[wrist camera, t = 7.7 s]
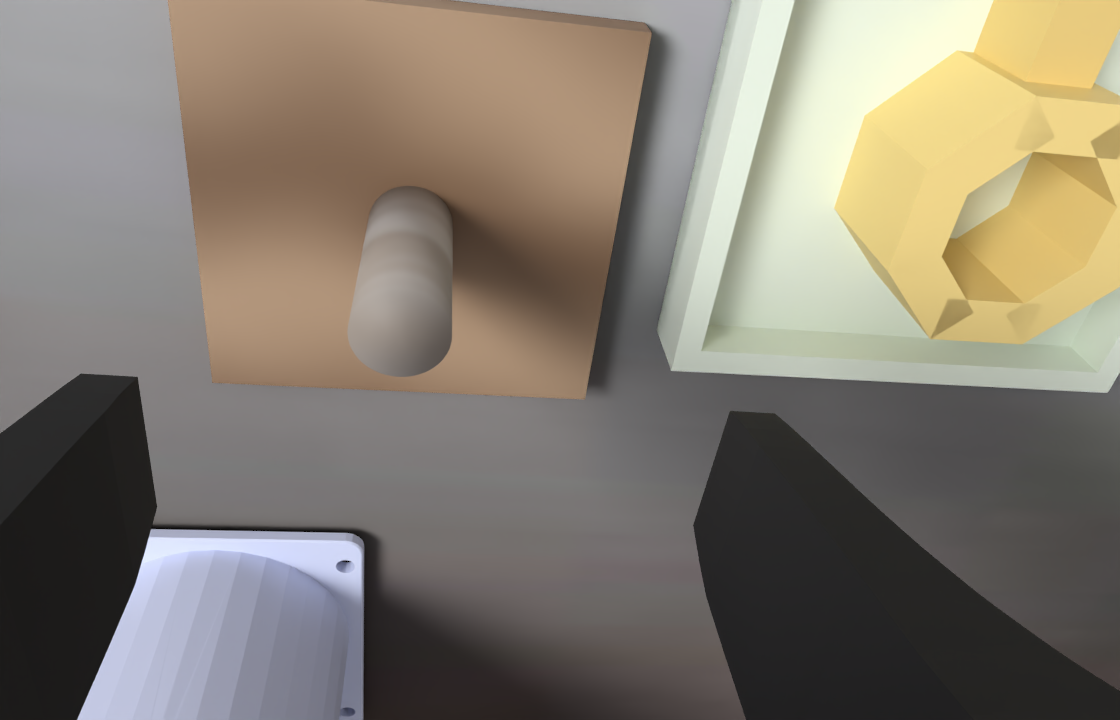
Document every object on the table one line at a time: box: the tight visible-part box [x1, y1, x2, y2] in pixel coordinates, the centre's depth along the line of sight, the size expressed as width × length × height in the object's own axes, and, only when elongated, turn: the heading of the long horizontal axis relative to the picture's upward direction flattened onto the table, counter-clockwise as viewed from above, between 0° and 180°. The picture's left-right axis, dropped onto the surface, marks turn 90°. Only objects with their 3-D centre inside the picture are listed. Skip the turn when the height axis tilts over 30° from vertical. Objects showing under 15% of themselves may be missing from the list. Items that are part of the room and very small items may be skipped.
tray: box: [657, 0, 1120, 393], centre depth 19 cm, size 12×12×2 cm
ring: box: [834, 0, 1120, 344], centre depth 18 cm, size 5×7×3 cm
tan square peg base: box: [168, 0, 652, 399], centre depth 17 cm, size 9×9×5 cm
